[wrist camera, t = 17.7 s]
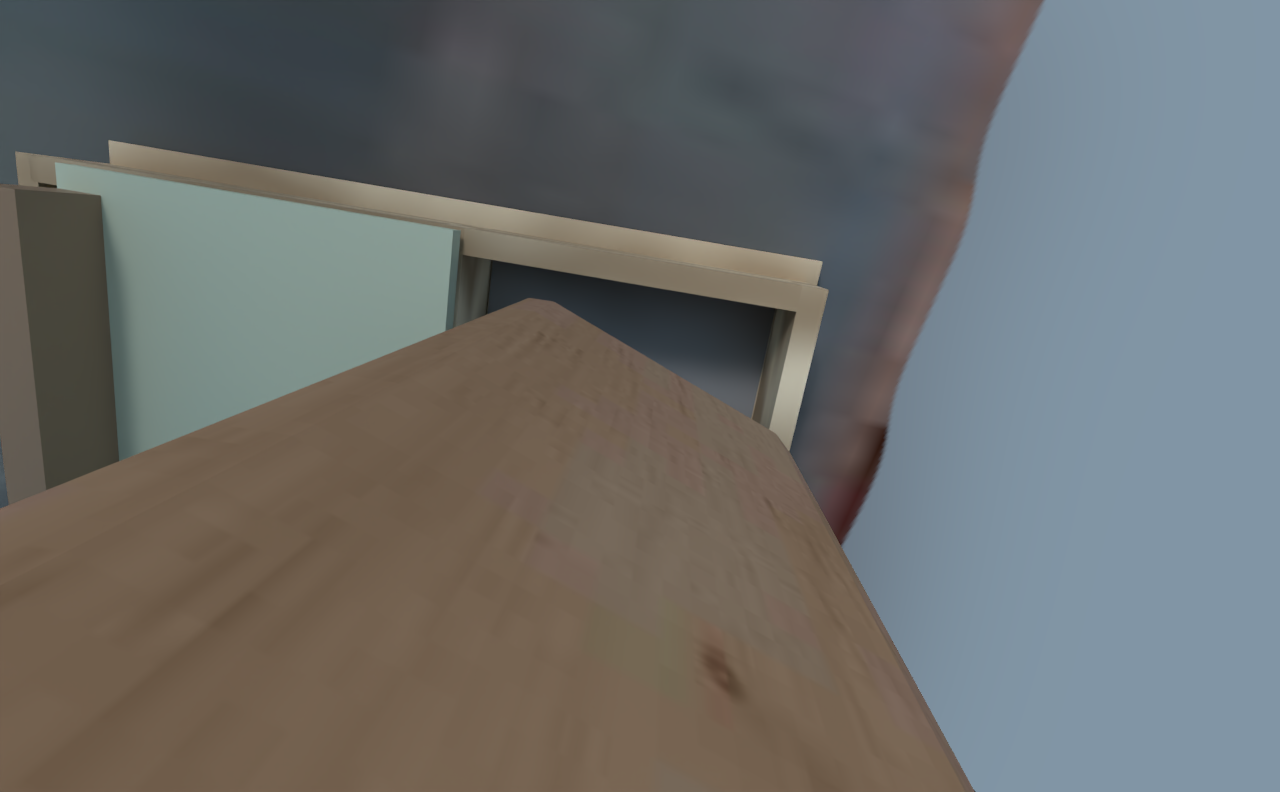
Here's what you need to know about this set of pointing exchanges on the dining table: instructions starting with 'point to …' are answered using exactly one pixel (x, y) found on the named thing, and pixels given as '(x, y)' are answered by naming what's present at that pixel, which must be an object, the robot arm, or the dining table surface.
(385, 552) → the wooden block
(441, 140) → the dining table surface
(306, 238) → the lid
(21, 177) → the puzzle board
